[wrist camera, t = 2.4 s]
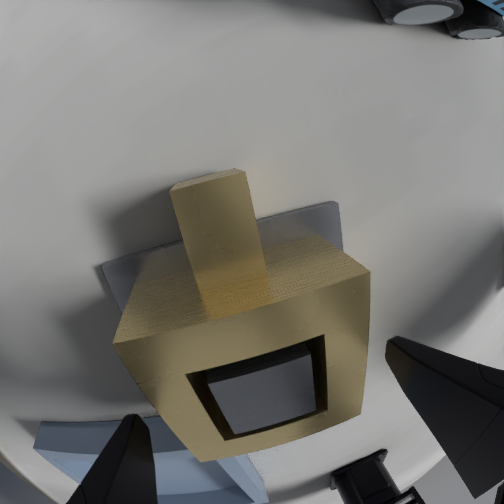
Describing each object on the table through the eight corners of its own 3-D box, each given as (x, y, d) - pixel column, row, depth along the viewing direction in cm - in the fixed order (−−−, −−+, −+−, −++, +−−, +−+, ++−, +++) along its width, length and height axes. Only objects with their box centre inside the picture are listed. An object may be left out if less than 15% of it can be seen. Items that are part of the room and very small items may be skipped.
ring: (329, 364, 13) (360, 414, 9) (194, 404, 12) (200, 462, 9) (305, 153, 9) (360, 156, 6) (106, 206, 8) (61, 235, 5)
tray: (262, 480, 18) (269, 502, 15) (132, 493, 16) (132, 513, 14) (218, 405, 13) (225, 443, 10) (41, 421, 11) (32, 448, 9)
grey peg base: (343, 365, 14) (378, 417, 10) (183, 412, 13) (187, 474, 9) (333, 200, 10) (400, 228, 7) (103, 263, 9) (63, 321, 6)
